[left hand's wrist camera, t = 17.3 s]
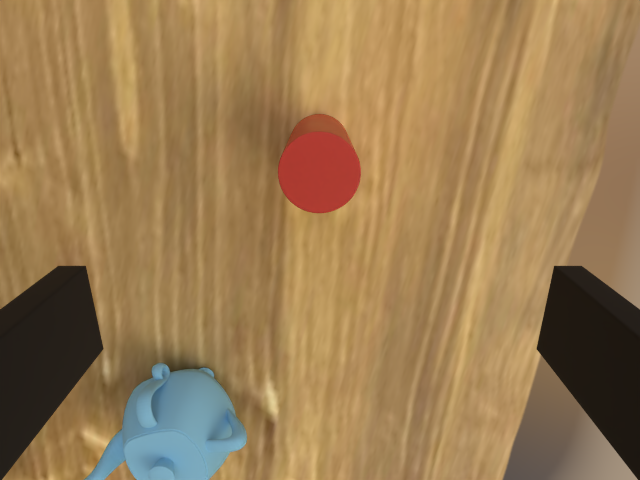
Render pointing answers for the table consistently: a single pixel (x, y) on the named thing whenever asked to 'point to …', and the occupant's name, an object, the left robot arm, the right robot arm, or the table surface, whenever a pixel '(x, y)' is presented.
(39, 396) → the left robot arm
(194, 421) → the teapot
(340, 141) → the can
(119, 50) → the table surface
